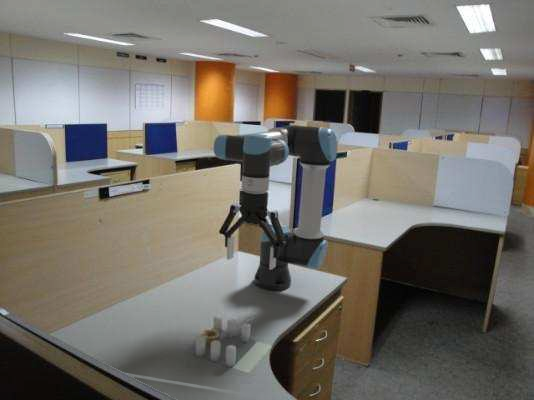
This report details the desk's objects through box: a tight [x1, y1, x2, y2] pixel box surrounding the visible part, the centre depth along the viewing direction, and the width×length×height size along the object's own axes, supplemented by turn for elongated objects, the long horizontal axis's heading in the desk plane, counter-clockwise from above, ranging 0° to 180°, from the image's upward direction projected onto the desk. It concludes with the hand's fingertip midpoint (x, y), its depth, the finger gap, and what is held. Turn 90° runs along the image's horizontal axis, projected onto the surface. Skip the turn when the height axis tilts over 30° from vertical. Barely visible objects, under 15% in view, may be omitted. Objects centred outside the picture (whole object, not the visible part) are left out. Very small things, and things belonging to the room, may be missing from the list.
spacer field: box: [184, 315, 273, 374], centre depth 133 cm, size 16×21×6 cm
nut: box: [201, 328, 220, 347], centre depth 136 cm, size 6×5×3 cm
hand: (250, 263), depth 128 cm, fingers open, 13 cm apart
